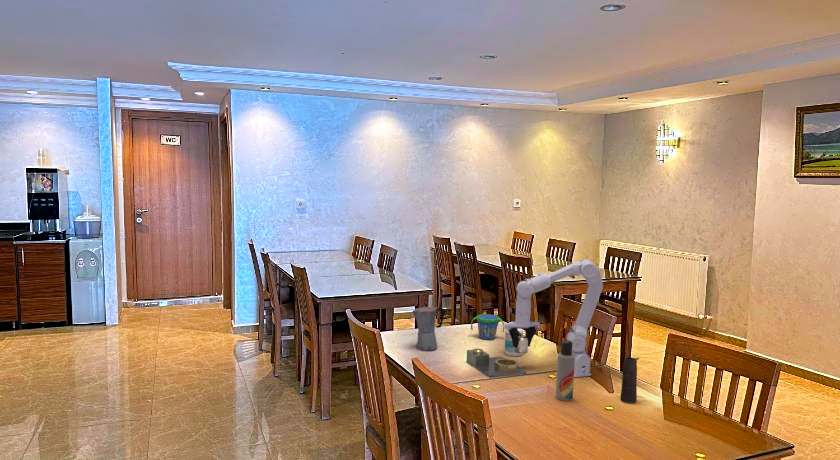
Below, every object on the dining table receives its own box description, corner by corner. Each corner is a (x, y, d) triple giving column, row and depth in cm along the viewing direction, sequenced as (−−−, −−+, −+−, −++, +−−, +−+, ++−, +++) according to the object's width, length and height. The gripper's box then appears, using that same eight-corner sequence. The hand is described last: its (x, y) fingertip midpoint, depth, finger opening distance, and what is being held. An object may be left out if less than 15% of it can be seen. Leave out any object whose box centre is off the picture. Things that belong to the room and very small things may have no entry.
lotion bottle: (573, 401, 199) (576, 343, 198) (555, 400, 200) (558, 342, 199) (572, 396, 205) (575, 339, 203) (555, 394, 206) (558, 338, 204)
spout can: (530, 353, 231) (531, 335, 230) (519, 354, 229) (519, 336, 228) (523, 349, 235) (524, 332, 235) (512, 350, 233) (513, 333, 233)
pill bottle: (521, 352, 256) (522, 321, 254) (522, 357, 248) (524, 325, 247) (504, 351, 256) (505, 320, 255) (504, 356, 249) (506, 324, 248)
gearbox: (526, 373, 227) (527, 358, 227) (489, 377, 221) (490, 362, 221) (501, 358, 246) (501, 344, 245) (466, 361, 240) (467, 347, 239)
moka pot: (406, 346, 259) (408, 301, 257) (438, 343, 265) (439, 299, 264) (415, 352, 250) (417, 306, 249) (448, 349, 257) (449, 304, 255)
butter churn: (645, 398, 205) (650, 318, 202) (646, 407, 196) (651, 324, 193) (617, 394, 208) (622, 315, 205) (617, 403, 199) (621, 321, 196)
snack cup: (505, 336, 280) (506, 315, 279) (502, 342, 270) (503, 320, 269) (472, 333, 284) (473, 312, 283) (468, 339, 274) (469, 317, 273)
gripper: (533, 309, 237) (532, 342, 238) (501, 310, 232) (500, 344, 233) (543, 313, 230) (541, 347, 232) (510, 315, 225) (508, 349, 226)
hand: (521, 346), depth 232 cm, fingers closed on spout can, 5 cm apart
